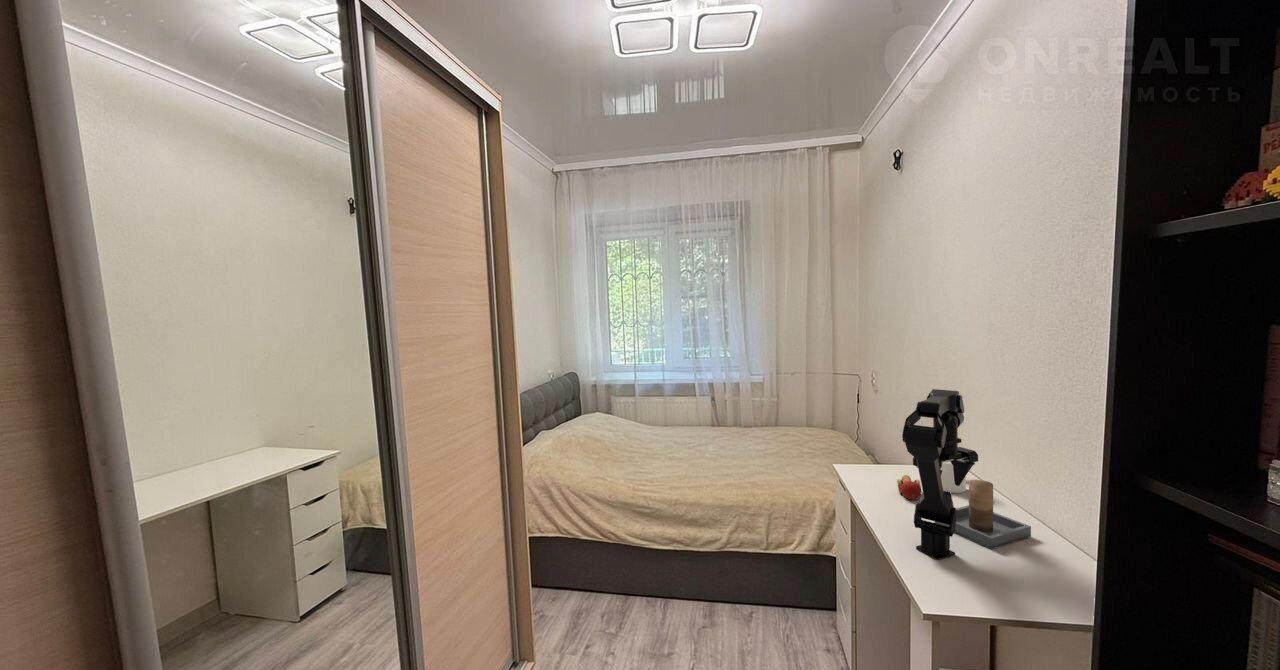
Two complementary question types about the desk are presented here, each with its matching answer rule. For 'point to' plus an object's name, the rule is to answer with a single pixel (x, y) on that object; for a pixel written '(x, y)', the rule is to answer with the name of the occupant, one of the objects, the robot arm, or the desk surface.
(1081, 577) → the desk surface
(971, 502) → the wooden cylinder
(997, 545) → the tray
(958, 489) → the cup
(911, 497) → the kendama
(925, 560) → the desk surface
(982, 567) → the desk surface
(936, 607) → the desk surface
